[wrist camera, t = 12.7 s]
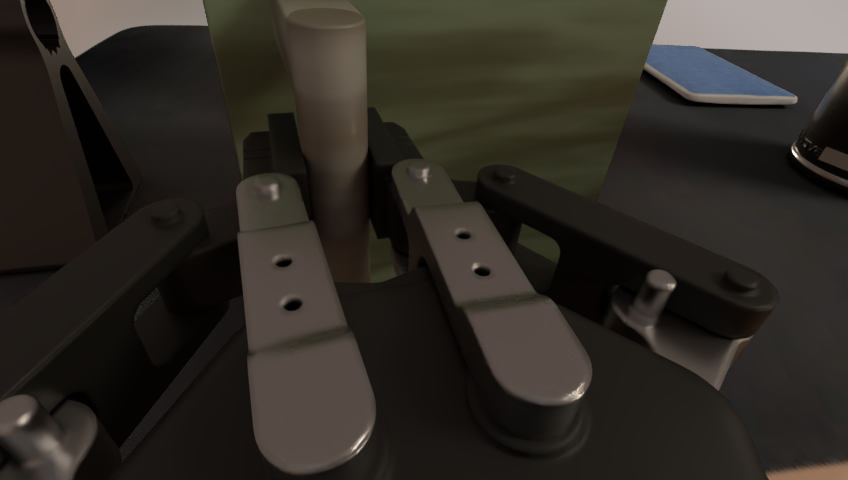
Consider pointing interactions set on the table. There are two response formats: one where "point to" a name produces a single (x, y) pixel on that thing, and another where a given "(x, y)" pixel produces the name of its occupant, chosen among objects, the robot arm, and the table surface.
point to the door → (432, 94)
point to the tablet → (711, 78)
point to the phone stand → (53, 148)
